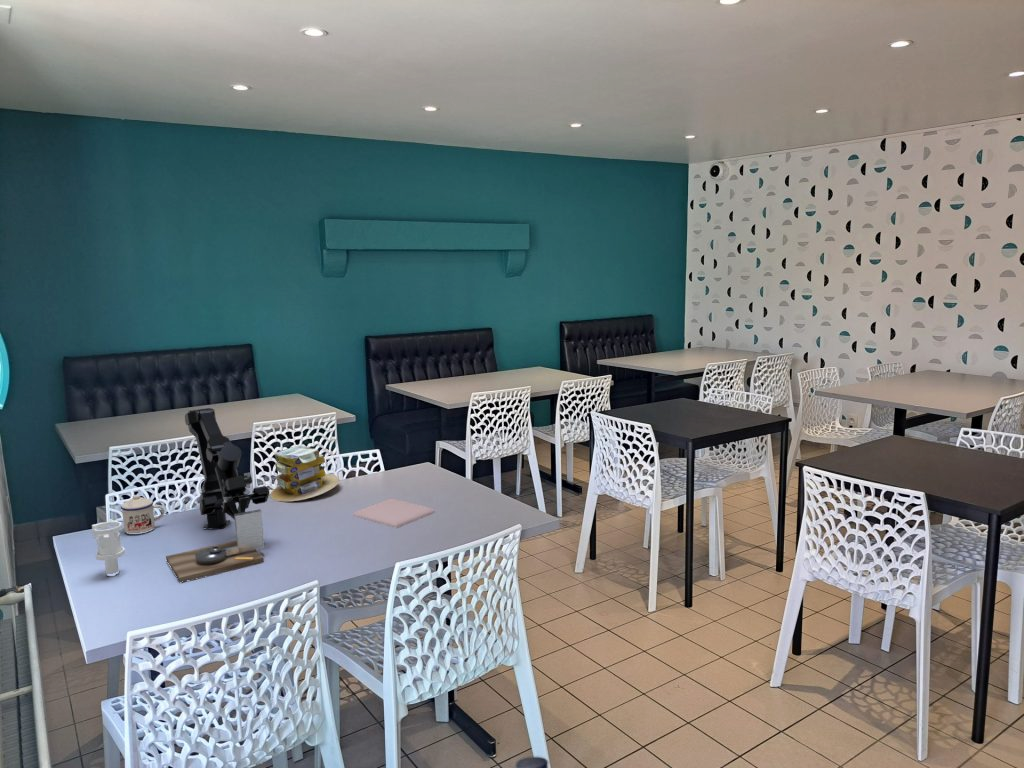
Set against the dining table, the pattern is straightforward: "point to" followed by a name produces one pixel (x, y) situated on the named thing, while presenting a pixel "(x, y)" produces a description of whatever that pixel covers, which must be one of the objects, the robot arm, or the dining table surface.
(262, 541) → the lever
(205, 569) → the walnut stand plate
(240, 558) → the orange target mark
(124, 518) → the teacup with lid
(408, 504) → the panel
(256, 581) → the dining table surface
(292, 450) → the stacked boxes on plate
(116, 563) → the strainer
